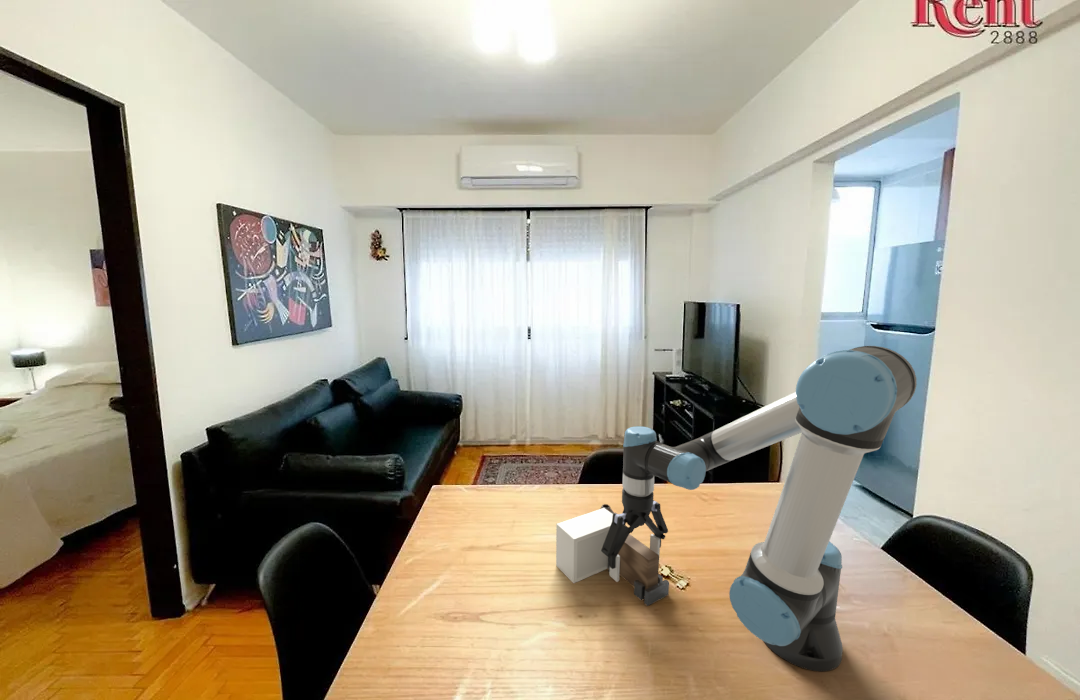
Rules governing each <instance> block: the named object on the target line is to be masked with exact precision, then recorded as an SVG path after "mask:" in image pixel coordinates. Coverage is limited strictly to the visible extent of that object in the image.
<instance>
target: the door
mask: <svg viewBox="0 0 1080 700" xmlns="http://www.w3.org/2000/svg"><path fill="white" fill-rule="evenodd" d="M618 555H619V556H620V569H619V576H620V577H622V578H623V579H624V580H625V581H626V582H628V584H629V585H631V586H632V587H633V588H634V581H635V580H639V581H640V582H641V583H642V584H643V585H645V590H646V589H648V588H650V587H652V586H654V585H656V584H658V574H659V565H660V555H658V554H657V553H655V552H654V551H652V550H651V549H650V547H648V546H646V545H645V544H644V543H643V542H641V541H640V540H639V539H637V538H635V537H634V536H633V535H632V534H631V533H630V534H629V535H628V537H627V539H626V541H625V542H624V544H623V546H622V548H621V549H620V551H619V553H618ZM644 597H645V595H644Z"/></svg>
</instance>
